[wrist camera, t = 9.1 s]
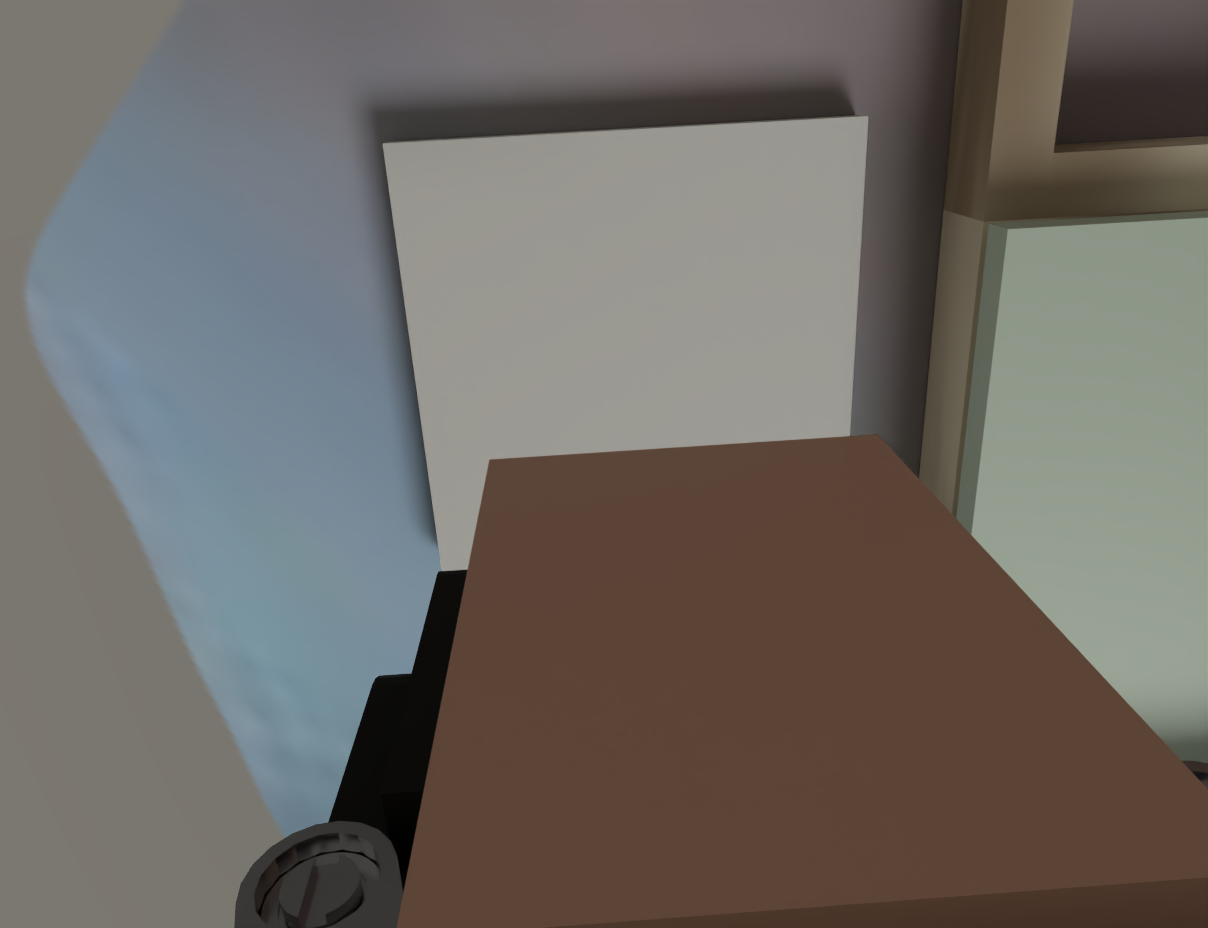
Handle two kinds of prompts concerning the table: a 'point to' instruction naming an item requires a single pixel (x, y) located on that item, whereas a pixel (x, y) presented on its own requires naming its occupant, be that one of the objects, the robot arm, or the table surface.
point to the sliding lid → (1101, 447)
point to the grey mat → (625, 292)
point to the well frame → (1022, 189)
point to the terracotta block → (778, 715)
